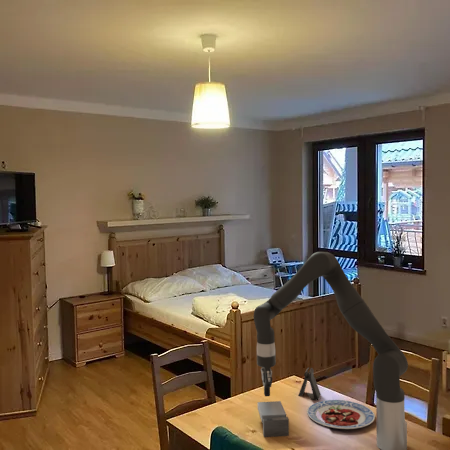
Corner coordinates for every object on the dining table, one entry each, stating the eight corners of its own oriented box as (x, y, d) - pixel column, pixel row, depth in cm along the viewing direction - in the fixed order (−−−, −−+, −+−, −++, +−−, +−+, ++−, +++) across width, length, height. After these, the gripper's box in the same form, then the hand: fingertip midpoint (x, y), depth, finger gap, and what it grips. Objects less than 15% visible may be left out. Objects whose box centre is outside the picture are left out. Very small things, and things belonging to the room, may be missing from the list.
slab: (280, 407, 194) (280, 401, 194) (286, 421, 182) (286, 414, 182) (257, 408, 193) (257, 402, 193) (262, 422, 181) (261, 415, 181)
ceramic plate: (378, 436, 180) (378, 428, 179) (306, 431, 185) (305, 423, 185) (371, 407, 205) (371, 399, 205) (308, 403, 210) (308, 396, 210)
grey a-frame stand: (320, 395, 217) (320, 368, 217) (318, 400, 212) (318, 372, 211) (300, 392, 221) (300, 366, 220) (297, 398, 215) (297, 370, 214)
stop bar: (287, 435, 181) (287, 416, 181) (288, 438, 179) (288, 419, 179) (263, 436, 181) (262, 417, 180) (264, 439, 178) (263, 420, 178)
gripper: (278, 357, 193) (279, 401, 194) (272, 347, 206) (273, 388, 207) (259, 358, 193) (260, 402, 193) (254, 348, 206) (255, 390, 207)
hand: (267, 395), depth 200 cm, fingers closed
